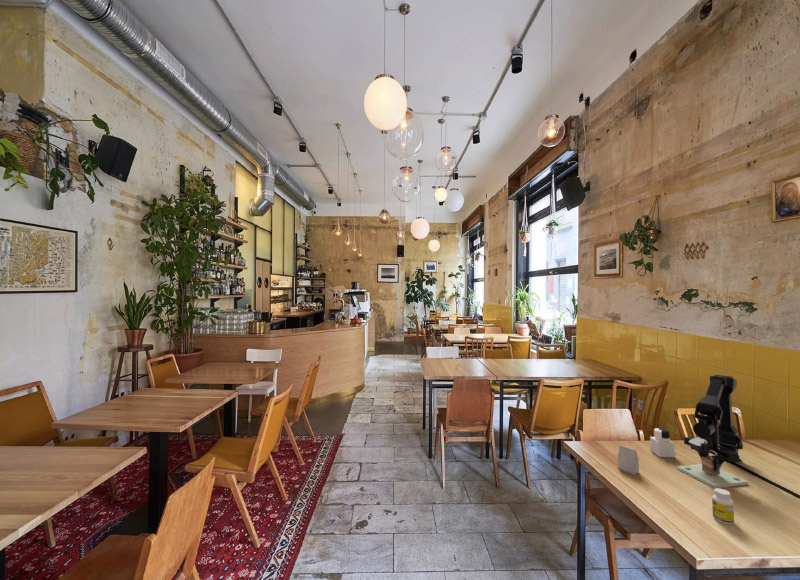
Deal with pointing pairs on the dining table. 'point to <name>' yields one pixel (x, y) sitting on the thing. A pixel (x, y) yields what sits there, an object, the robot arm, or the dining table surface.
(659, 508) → the dining table surface
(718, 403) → the robot arm
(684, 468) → the baseplate
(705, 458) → the brown rectangular block
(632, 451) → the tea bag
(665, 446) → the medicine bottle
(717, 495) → the supplement bottle
